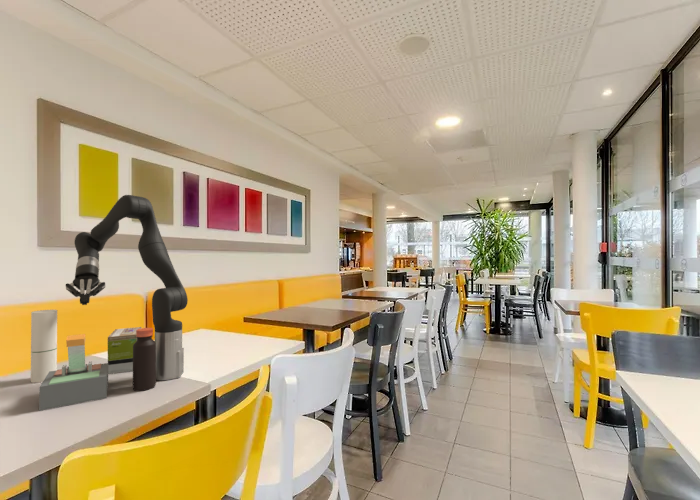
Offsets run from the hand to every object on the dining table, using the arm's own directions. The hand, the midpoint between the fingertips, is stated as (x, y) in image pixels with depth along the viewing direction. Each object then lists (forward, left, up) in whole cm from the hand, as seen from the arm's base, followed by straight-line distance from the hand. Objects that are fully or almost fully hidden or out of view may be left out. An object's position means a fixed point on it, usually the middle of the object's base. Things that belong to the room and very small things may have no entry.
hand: (84, 303), depth 129 cm
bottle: (-26, +18, -28) cm, 42 cm away
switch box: (-7, +20, -27) cm, 34 cm away
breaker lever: (-7, +19, -20) cm, 29 cm away
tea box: (-11, -8, -28) cm, 31 cm away
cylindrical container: (+13, 0, -28) cm, 30 cm away
